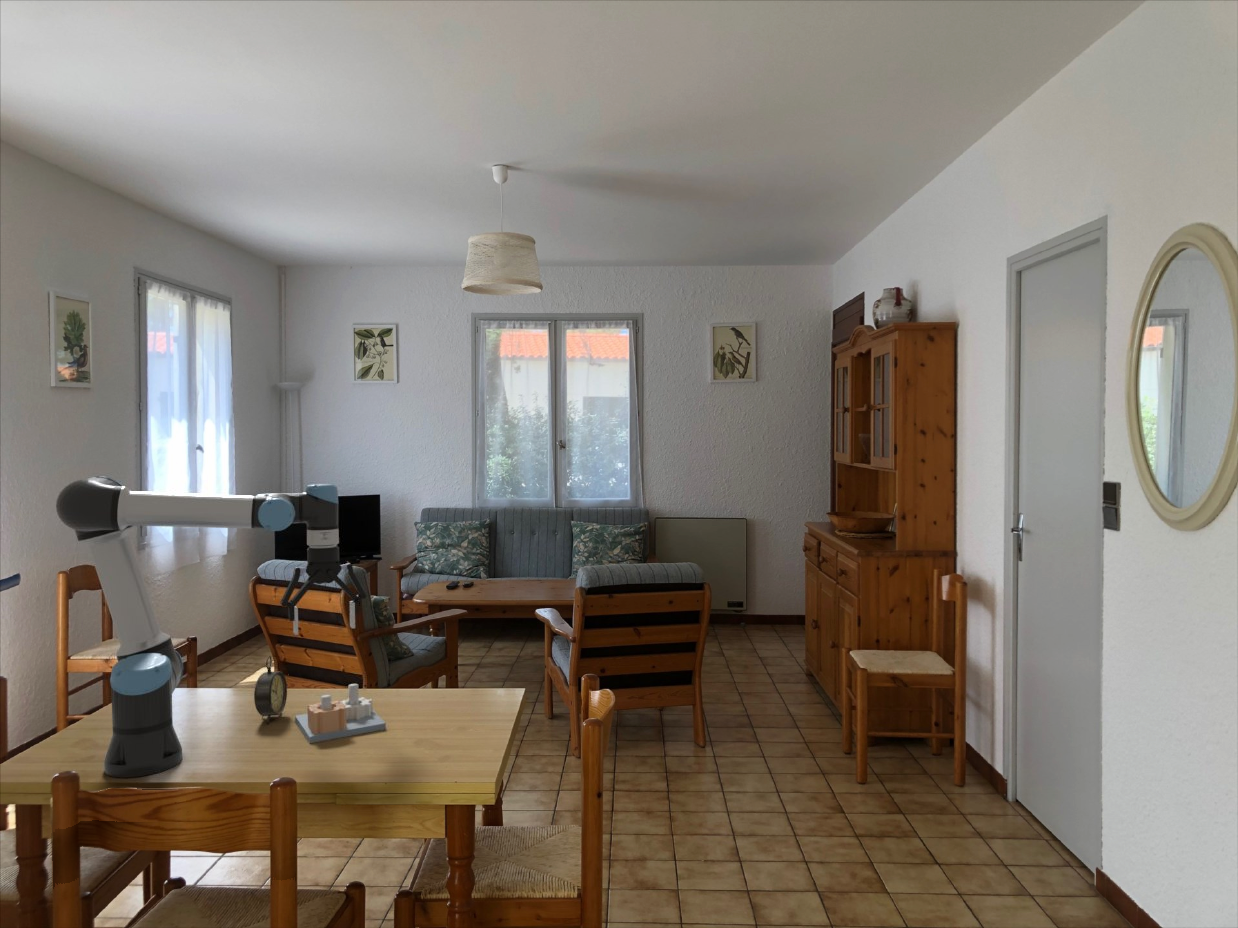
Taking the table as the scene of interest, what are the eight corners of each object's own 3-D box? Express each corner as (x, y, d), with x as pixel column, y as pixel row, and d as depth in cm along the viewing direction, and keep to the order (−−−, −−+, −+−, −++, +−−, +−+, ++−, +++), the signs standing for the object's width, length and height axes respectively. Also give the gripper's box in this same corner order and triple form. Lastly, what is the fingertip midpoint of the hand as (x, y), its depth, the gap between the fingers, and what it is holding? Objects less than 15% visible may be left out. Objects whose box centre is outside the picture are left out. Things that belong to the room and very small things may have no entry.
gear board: (309, 743, 202) (308, 705, 202) (295, 721, 218) (294, 686, 217) (385, 728, 211) (385, 692, 211) (366, 709, 227) (366, 675, 227)
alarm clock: (272, 725, 215) (270, 661, 214) (250, 725, 215) (249, 661, 214) (288, 711, 226) (287, 650, 225) (268, 711, 226) (266, 650, 225)
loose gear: (313, 734, 204) (313, 713, 203) (306, 725, 210) (306, 704, 210) (347, 728, 208) (347, 708, 207) (340, 719, 214) (339, 699, 214)
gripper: (271, 551, 204) (273, 639, 205) (377, 544, 216) (378, 627, 217) (267, 547, 211) (269, 633, 212) (370, 541, 223) (371, 621, 224)
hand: (324, 630), depth 214 cm, fingers open, 13 cm apart
